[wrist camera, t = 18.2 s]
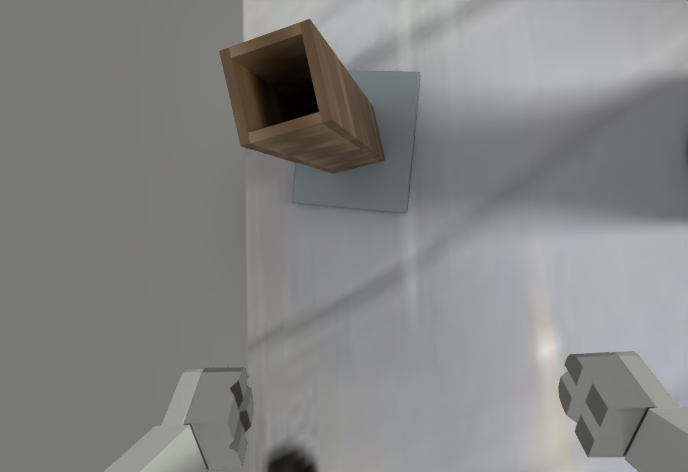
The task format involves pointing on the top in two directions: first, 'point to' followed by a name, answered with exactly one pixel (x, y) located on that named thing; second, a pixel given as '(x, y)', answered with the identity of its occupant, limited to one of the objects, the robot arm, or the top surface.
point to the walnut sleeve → (300, 101)
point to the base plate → (397, 142)
